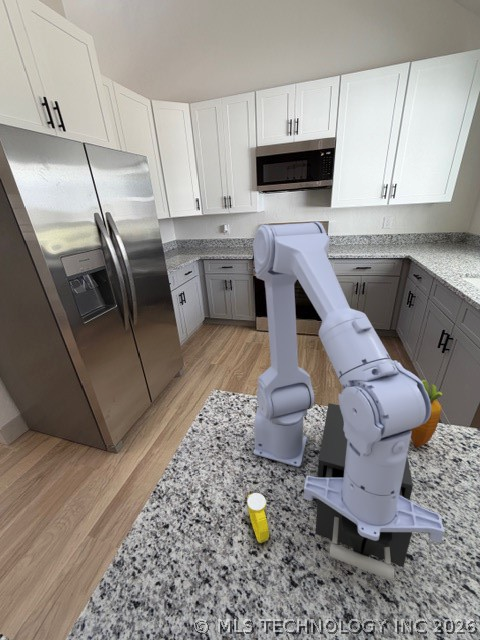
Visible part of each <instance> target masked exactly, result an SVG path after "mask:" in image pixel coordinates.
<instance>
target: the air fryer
mask: <svg viewBox="0 0 480 640" xmlns="http://www.w3.org/2000/svg"><path fill="white" fill-rule="evenodd" d="M343 428H344V420H343V416H342V413H341V410H340V406H339V404H335V403H330V402H328V403H327V410H326V413H325V421H324V426H323V433H322V438H321V444H320V450H319V456H318V465H317V466H318V467H317V468H318V469H317V477H318V478H326V472H327V466H329V467H333V468H336V469H340V470H343V471H344V469H345V459H346V449H347V438H346V437H345V432H344V431H343ZM413 489H414V482H413V478H412V473H411V467H410V462H409V457H408V455H407V458H406V463H405V468H404V473H403V479H402V484H401V491H402V497H404V498H406V499H408V500H410V501H411V497H412V492H413ZM315 504H317V498H315Z"/></svg>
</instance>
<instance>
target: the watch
mask: <svg viewBox="0 0 480 640" xmlns="http://www.w3.org/2000/svg"><path fill="white" fill-rule="evenodd" d="M246 503H247V508H248V513H249V518H250V523H251V526H252V528H253V529H252V530H253V531H254V535H255V536H256V541H257V542H258V543H259V544H262V543H265V542H266V541H269V538H270V529H269V524H268V519H267V515H266V512H265V510H266V508H267V499H266V497H265V496H264V495H263V494H262V493H260V492H254V493H250V494H248V495H247V497H246Z"/></svg>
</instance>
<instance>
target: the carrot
mask: <svg viewBox="0 0 480 640" xmlns="http://www.w3.org/2000/svg"><path fill="white" fill-rule="evenodd" d="M421 382H422V383H423V384H424V387H425V390H426V392H427V394H428V396H429V399H430V402H431V415H430V417H429V419H428V421H427V422H426V423H424V424H422V425H420V426H418V427H416V428H412V429H410V430H411V431H412V433H411V438H410V441H411V442H412V444H413V446H414V447H415V448H417V449H418V448H422V447H423V446H425V445H426V444H427V443H428V442H429V441H430V440H431V439H432V437H433V435H434V434H435V432H436V430H437V427H438V425H439V421H440V418H441V414H442V404H440V402H439V401H437V399H438V398H440V397H442V396H443V393H442V392H441V391H437V386H436V385H435V384H431V385H430V387H429V384H428V381H427V380H425V379H422V380H421Z"/></svg>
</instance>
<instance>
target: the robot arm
mask: <svg viewBox="0 0 480 640" xmlns="http://www.w3.org/2000/svg"><path fill="white" fill-rule="evenodd" d="M252 248H253V262H254V271H255V278H256V279H259V280H262V281H264V288H265V300H266V302H265V303H266V316H267V327H268V328H267V329H268V330H267V331H268V341H269V342H268V343H269V358H270V366H269V367H267V369H266V370H264V371H263V372H262V373H261V374H260V375H259V376H258V378H257V390H256V400H257V405H258V408H257V410H256V412H255V416H254V422H253V434H254V435H253V436H254V449H253V454H254V455H255V456H259V457H263V458H266V459H269V460H273V461H276V462H279V463H282V464H286V465H288V466H289V465H290V466H293V467H296V468H300V467H301V466H302V462H303V457H304V454H305V450H306V449H305V448H306V445H307V440H308V437H307V436H306V435H304V417H305V416H307V415H308V410H311V409H312V408H313V407H314V404H315V391H314V389H313V386H312V380H311V379H312V378H311V375H310V374H309V373H308V371H306V370H305V369H303V368H302V367H300V366H299V359H298V338H297V337H298V336H297V315H296V298H295V295H296V294H295V284H296V282H297V280H298V282H299V284H300V286H301V287H302V289H303V291H304V293H305V294H306V296H307V298H308V299H309V301H310V303H311V305H312V306H313V308H314V309H315V312H316V313H317V314H318V316H319V318H320V319H321V324H320V326H319V329H318V338H319V339H320V341H321V344H322V346H323V348H324V351H325V353H326V355H327V357H328V359H329V361H330V363H331V366H332V368H333V371H334V373H335V375H336V377H337V379H338V381H339V383H340V385H341V388H342V391H341V393H340V392H339V393H338V405H339V406H340V410H341V413H342V416H343V420H344V428H343V431H344V432H345V437H346V438H347V449H346V459H345V469H344V478H318V476H317V477H316V476H311V475H306V477H305V481H304V487H303V499H304V500H306V501H308V502H313V500H314V498H315V499H316V498H317V499H319V500H321V501H322V502H324V503H325V504H327V505H328V506H330V507H331V508H333V509H334V510H336V511H337V512H339V513H340V514H342V519H341V524H342V528H343V531H344V532H345V533H346V534H347V536H348V537H349V539H350V541H351V543H352V546H353V548H352V549H353V551H354V552H357V553H360V554H362V555H365V556H368V557H370V558H371V556H372V555H371V554H372V553H373V552H375V551H376V550H378V549H380V548H384V547H389V546H390V544H391V542H392V532H412V533H424V534H427V537H428V539H429V540H430V541H432V542H435V543H438V544H442V541H443V538H444V534H445V528H444V525H443V521H442V516H441V514H440V513H439V512H435V511H432V510H429V509H428V508H425V507H423V506H421V505H419V504H417V503H415V502H413V501H411V499H410V500H408V499H406V498H404V497H402V496H400V495H399V493H400V488H401V484H402V479H403V473H404V468H405V463H406V458H407V456H408V453H409V448H410V442H411V433H412V431H411V430H410V429H412V428H416V427H418V426H420V425H422V424H424V423H426V422H427V421H428V419H429V417H430V415H431V402H430V399H429V396H428V394H427V392H426V390H425V387H424V384H423V383H422V382H421V381H422V380H421V379H420V378H419V377H418V376H417V375H415V374H414V373H412V372H411V371H410V370H408V369H405V368H404V366H402V364H401V362H398V360H393V359H392V357H391V356H390V354H389V353H388V350H387V349H386V347H385V345H384V344H383V342H382V340H381V339H380V336H379V335H378V333H377V331H376V330H375V328H374V327H373V325H372V323H371V321H370V319H369V318H368V316H367V314H366V313H364V312H362V311H360V310H357V309H354V308H351V307H350V304H349V302H348V301H347V298H346V295H345V294H344V293H345V292H344V291H343V289H342V287H341V283H340V282H339V279H338V278H337V275H336V273H335V271H334V269H333V266H332V264H331V262H330V259H329V257H328V256H329V251H330V237H329V235H328V233H327V231H326V229H325V227H324V225H323V224H322V223H321V222H320V221H310V222H303V223H285V224H271V225H270V224H269V225H268V224H261V225H259V227H258V228H257V229H256V232H255V234H254V239H253V243H252Z"/></svg>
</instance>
